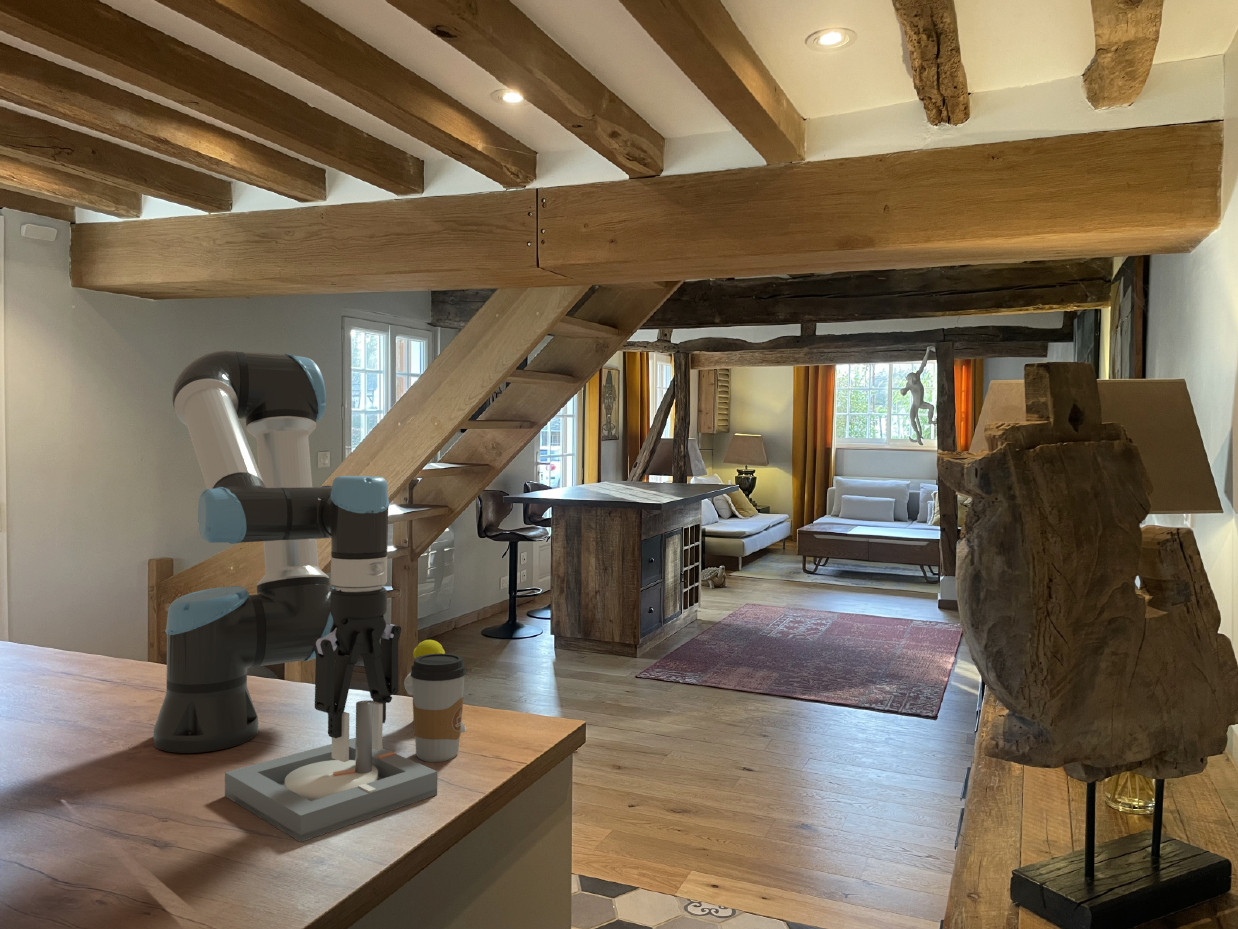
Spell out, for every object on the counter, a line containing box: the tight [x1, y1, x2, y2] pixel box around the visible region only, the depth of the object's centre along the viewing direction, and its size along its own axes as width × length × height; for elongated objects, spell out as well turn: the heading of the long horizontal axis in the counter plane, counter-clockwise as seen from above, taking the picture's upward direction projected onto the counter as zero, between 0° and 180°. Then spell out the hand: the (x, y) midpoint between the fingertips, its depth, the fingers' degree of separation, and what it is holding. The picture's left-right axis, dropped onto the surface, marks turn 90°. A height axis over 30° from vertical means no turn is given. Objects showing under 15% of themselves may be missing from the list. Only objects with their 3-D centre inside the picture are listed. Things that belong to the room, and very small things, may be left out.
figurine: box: [403, 639, 467, 733], centre depth 147 cm, size 10×9×15 cm
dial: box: [285, 699, 378, 801], centre depth 119 cm, size 12×12×11 cm
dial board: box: [224, 737, 438, 843], centre depth 119 cm, size 20×20×3 cm
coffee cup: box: [410, 653, 467, 763], centre depth 135 cm, size 8×8×15 cm
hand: (357, 753), depth 123 cm, fingers open, 5 cm apart
